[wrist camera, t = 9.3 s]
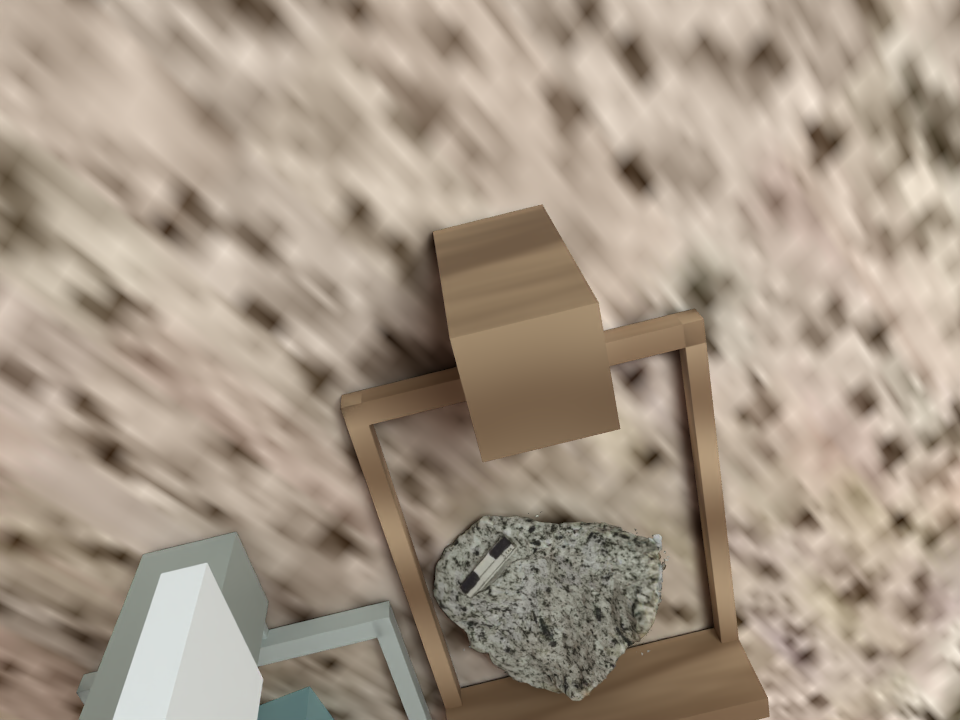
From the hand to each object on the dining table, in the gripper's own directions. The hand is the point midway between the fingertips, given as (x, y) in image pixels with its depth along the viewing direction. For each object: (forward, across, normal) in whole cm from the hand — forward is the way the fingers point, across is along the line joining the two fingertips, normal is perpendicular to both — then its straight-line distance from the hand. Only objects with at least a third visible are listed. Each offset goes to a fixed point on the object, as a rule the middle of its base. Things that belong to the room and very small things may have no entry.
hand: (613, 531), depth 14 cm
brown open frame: (+18, 0, -12) cm, 22 cm away
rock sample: (+18, -2, -17) cm, 25 cm away
